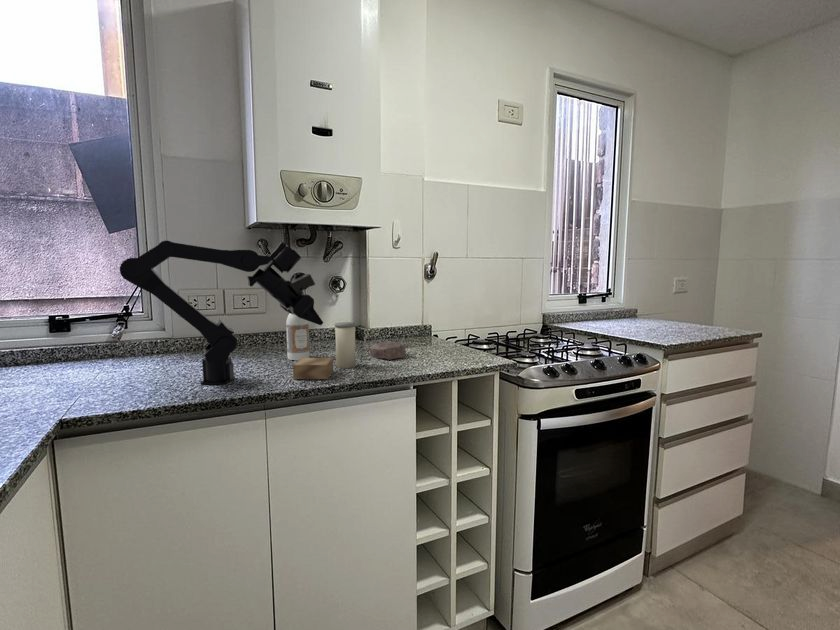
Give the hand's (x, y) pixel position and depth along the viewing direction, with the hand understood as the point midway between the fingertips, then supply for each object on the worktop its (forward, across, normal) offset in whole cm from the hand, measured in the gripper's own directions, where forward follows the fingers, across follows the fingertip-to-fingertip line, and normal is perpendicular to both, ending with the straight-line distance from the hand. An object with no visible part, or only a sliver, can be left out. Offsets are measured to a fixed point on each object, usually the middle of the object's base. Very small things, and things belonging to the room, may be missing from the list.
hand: (317, 322), depth 126 cm
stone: (+28, +7, -7) cm, 30 cm away
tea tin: (+16, 0, +4) cm, 16 cm away
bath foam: (+9, +17, +12) cm, 23 cm away
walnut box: (+8, -6, +12) cm, 16 cm away
